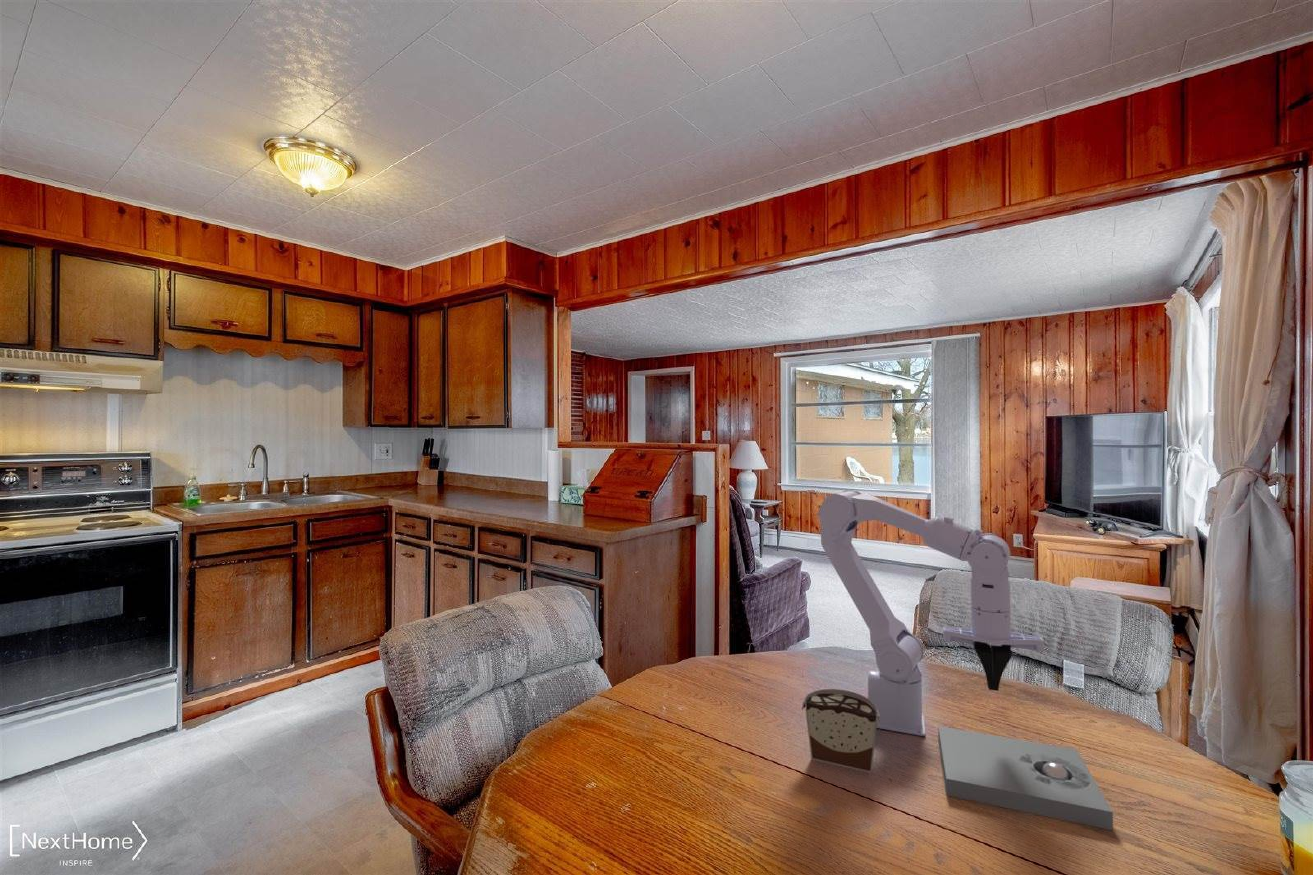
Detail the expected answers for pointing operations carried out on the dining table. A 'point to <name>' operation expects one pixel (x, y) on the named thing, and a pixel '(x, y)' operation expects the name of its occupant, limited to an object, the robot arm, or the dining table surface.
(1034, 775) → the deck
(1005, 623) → the robot arm
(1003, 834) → the dining table surface
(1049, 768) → the ball
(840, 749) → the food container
